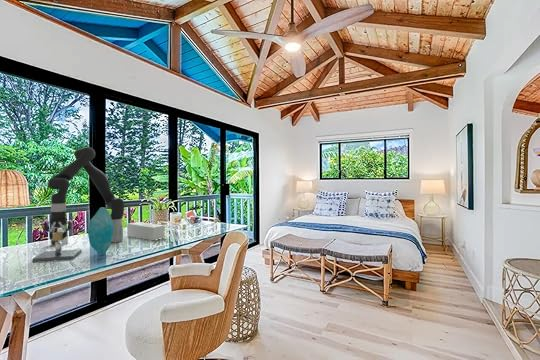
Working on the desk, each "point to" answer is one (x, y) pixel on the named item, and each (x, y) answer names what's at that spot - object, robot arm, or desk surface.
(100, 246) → the crystal
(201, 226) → the desk surface
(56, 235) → the bronze ring
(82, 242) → the desk surface
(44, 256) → the piston stand
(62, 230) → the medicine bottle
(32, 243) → the desk surface
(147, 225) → the light grey long block
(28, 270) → the desk surface
